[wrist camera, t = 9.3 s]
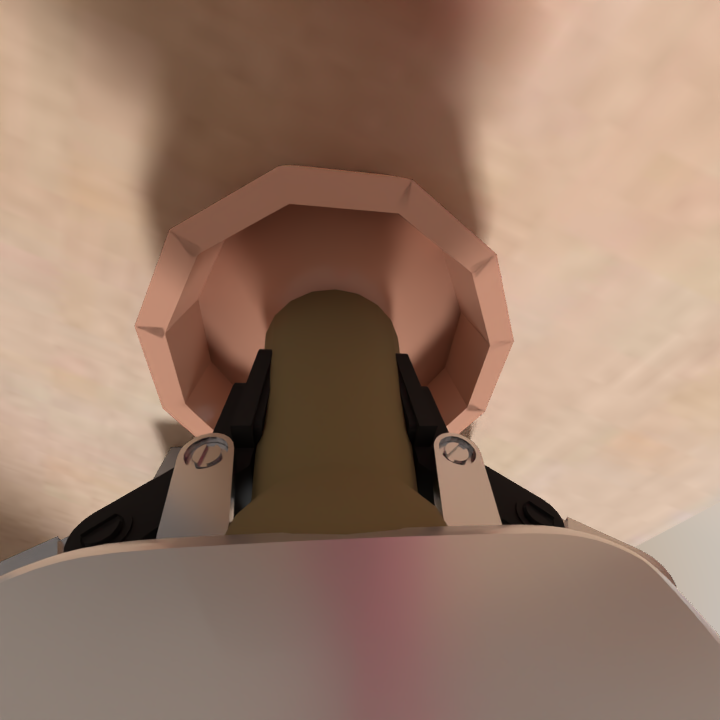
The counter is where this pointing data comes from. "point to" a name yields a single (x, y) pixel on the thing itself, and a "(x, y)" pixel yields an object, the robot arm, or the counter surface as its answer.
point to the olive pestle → (333, 426)
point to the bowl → (323, 286)
